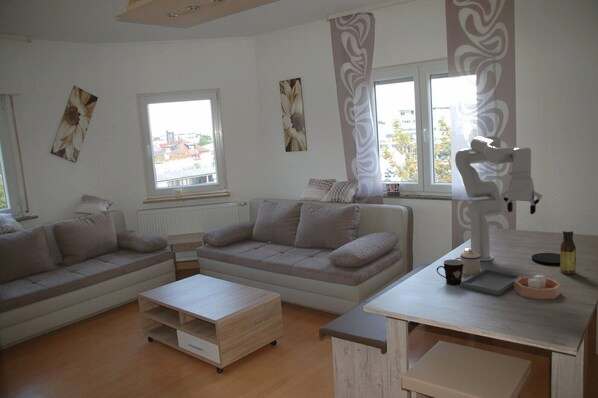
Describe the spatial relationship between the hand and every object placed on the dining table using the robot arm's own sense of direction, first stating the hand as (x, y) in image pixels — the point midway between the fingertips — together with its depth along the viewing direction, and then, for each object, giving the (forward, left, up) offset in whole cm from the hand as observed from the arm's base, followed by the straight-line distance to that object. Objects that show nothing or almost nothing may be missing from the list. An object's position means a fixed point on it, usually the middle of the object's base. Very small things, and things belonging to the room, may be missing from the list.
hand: (521, 212), depth 204 cm
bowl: (+13, -15, -30) cm, 36 cm away
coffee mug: (-21, -26, -31) cm, 45 cm away
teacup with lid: (-22, -8, -31) cm, 38 cm away
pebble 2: (+12, -12, -29) cm, 34 cm away
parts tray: (-6, -17, -30) cm, 35 cm away
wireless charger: (+2, +33, -31) cm, 45 cm away
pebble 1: (+12, -18, -29) cm, 37 cm away
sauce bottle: (+14, +18, -31) cm, 38 cm away
